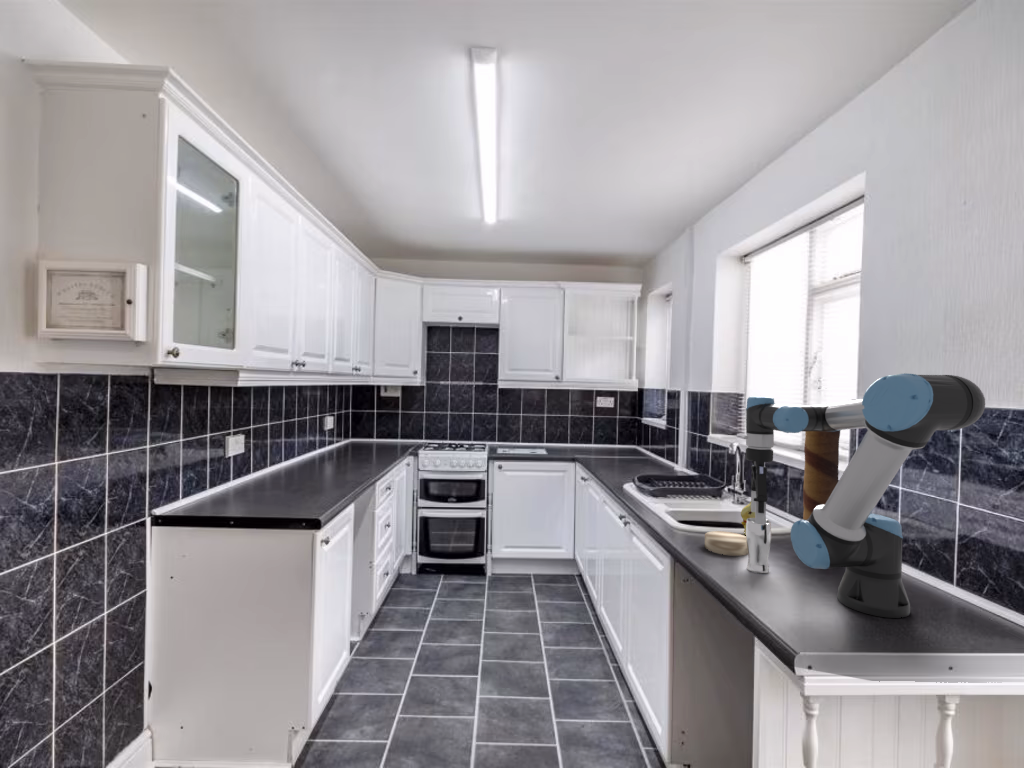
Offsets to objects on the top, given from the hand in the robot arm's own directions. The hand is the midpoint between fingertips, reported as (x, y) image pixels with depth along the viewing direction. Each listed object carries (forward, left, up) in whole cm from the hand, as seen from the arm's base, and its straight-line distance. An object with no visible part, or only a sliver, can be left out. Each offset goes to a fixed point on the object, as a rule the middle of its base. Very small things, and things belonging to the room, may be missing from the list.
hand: (757, 517), depth 154 cm
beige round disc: (+18, +8, -16) cm, 25 cm away
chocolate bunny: (+38, -3, -16) cm, 41 cm away
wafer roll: (+25, -21, -16) cm, 36 cm away
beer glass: (0, 0, -16) cm, 16 cm away
